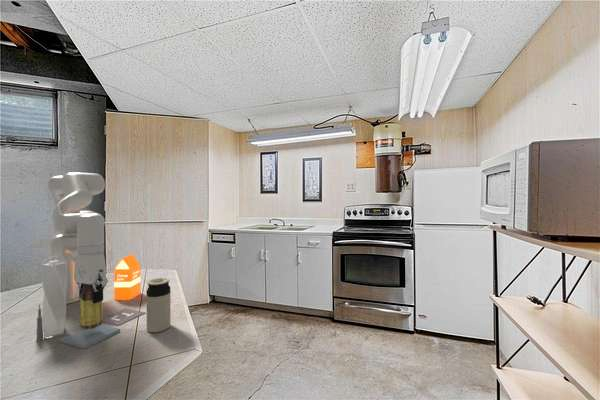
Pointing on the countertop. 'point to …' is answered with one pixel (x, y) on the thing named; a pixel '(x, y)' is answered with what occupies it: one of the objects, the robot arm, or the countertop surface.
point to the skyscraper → (52, 300)
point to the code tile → (122, 316)
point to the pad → (90, 336)
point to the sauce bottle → (89, 308)
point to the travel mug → (158, 305)
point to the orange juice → (127, 279)
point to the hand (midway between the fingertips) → (91, 300)
